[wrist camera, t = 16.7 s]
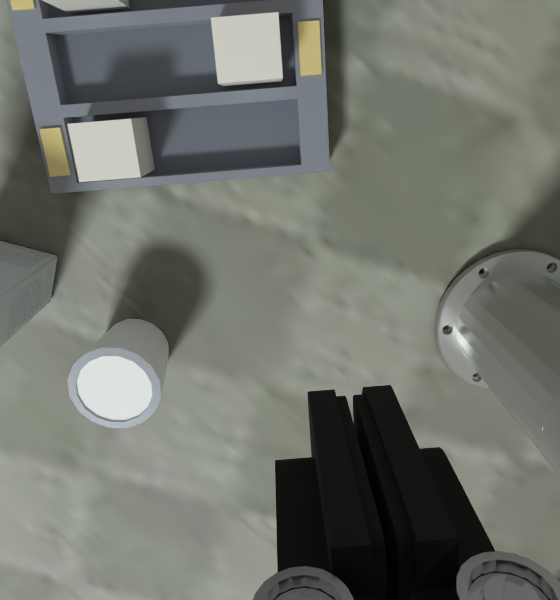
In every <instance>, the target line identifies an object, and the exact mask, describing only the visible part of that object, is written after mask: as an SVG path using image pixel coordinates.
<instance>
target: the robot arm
mask: <svg viewBox="0 0 560 600" xmlns="http://www.w3.org/2000/svg"><path fill="white" fill-rule="evenodd" d="M548 264H549V265H548ZM547 265H548V266H547ZM481 269H482V271H481V272H480V273H479V271H480V270H481ZM446 325H447V326H446ZM444 326H446V327H445V328H443V327H444ZM435 335H436V342H437V345H438V348H439V351H440V353H441V355H442V356H443V358H444V360H445V361H446V363H447V364H448V365H449V367H450V368H451V369H452V370H453V372H454V373H456V374H457V375H458V376H459V377H461V378H462V379H463V380H465V381H467V382H469V383H470V384H473V385H475V386H479V387H482V388H486V389H491V391H492V392H493V393H494V394H495V396H496V397H497V398H498V399H499V401H500V402H501V403H502V405H503V406H504V407H505V408H506V410H507V411H508V412H509V413H510V415H511V416H512V417H513V418H514V420H515V421H516V422H517V423H518V425H519V426H520V427H521V429H522V430H523V431H524V432H525V434H526V435H527V436H528V437H529V439H530V440H531V441H532V442H533V444H534V445H535V446H536V448H537V449H538V450H539V451H540V453H541V454H542V455H543V456H544V458H545V459H546V460H547V461H548V463H549V464H550V465H551V467H552V468H553V469H554V470H555V471H556V473H557V474H558V475H559V476H560V260H558V259H556V258H555V257H553V256H551V255H549V254H545V253H542V252H539V251H536V250H527V249H515V250H506V251H502V252H498V253H494V254H491V255H489V256H487V257H485V258H482V259H480V260H478V261H477V262H475V263H474V264H472V265H471V266H469V267H468V268H466V269H465V270H464V271H463V272H462V273H461V274H460V275H459V276H458V277H457V278H456V279H455V280H454V281H453V282H452V284H451V285H450V286H449V288H448V289H447V290H446V292H445V294H444V296H443V298H442V300H441V302H440V304H439V308H438V311H437V315H436V321H435ZM308 407H309V422H310V438H311V453H312V457H310V458H297V459H285V460H275V476H276V518H277V559H278V572H277V573H276V574H274V575H273V576H272V577H270V578H269V579H267V580H266V581H265V582H264V583H263V584H262V585H261V587H260V588H259V589H258V590H257V592H256V593H255V595H254V598H253V600H560V582H559V581H558V580H557V579H556V578H555V577H554V576H553V575H552V574H551V573H550V572H549V571H548V570H546V569H545V568H543V567H542V566H540V565H539V564H537V563H535V562H534V561H532V560H530V559H527V558H525V557H522V556H519V555H517V554H512V553H506V552H500V551H495V550H494V548H493V546H492V544H491V542H490V540H489V538H488V536H487V534H486V532H485V530H484V528H483V526H482V524H481V522H480V520H479V519H478V517H477V515H476V513H475V511H474V509H473V507H472V505H471V503H470V501H469V499H468V497H467V495H466V493H465V491H464V489H463V487H462V485H461V483H460V482H459V480H458V478H457V476H456V474H455V472H454V470H453V468H452V466H451V464H450V462H449V460H448V458H447V456H446V454H445V453H444V451H443V450H442V449H441V448H439V447H437V448H424V449H419V447H418V445H417V442H416V440H415V438H414V436H413V433H412V431H411V429H410V427H409V425H408V422H407V420H406V418H405V416H404V413H403V411H402V409H401V407H400V404H399V402H398V400H397V398H396V395H395V393H394V391H393V389H392V387H391V385H386V386H373V387H363V390H362V395H354V396H353V417H354V424H353V421H352V417H351V413H350V410H349V406H348V402H347V399H346V396H338V397H336V394H335V390H323V391H310V392H308Z"/></svg>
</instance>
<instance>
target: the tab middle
mask: <svg viewBox="0 0 560 600" xmlns="http://www.w3.org/2000/svg"><path fill="white" fill-rule="evenodd" d="M211 26H212V35H213V44H214V53H215V62H216V71H217V80H218V84H220V85H222V86H233V85H245V84H257V83H269V82H281V81H282V79H283V72H282V58H281V43H280V28H279V14H278V12H273V13H261V14H249V15H237V16H224V17H212V18H211Z"/></svg>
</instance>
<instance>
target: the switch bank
mask: <svg viewBox="0 0 560 600" xmlns="http://www.w3.org/2000/svg"><path fill="white" fill-rule="evenodd" d="M128 1H129V7H130V8H126V9H114V10H102V11H90V12H78V13H68V12H66V11H64V10H61V9H59V8H57V7H55V6H53V5H51V4H49V3H47V2H44V1H42V0H7V4H8V8H9V13H10V17H11V22H12V26H13V30H14V35H15V39H16V43H17V48H18V52H19V57H20V61H21V65H22V70H23V74H24V78H25V83H26V87H27V92H28V96H29V100H30V105H31V109H32V113H33V118H34V122H35V126H36V131H37V135H38V140H39V144H40V148H41V153H42V157H43V161H44V166H45V170H46V175H47V179H48V183H49V188H50V192H51V194H56V193H69V192H81V191H93V190H106V189H118V188H130V187H143V186H155V185H167V184H180V183H192V182H204V181H217V180H229V179H241V178H254V177H266V176H278V175H291V174H303V173H315V172H327V171H330V160H329V136H328V112H327V89H326V65H325V41H324V17H323V0H128ZM273 12H278V14H279V28H280V43H281V58H282V72H283V79H282V81H281V82H269V83H257V84H245V85H233V86H222V85H220V84H218V80H217V71H216V62H215V53H214V44H213V35H212V26H211V18H212V17H224V16H237V15H249V14H261V13H273ZM143 117H147V123H148V129H149V136H150V142H151V149H152V155H153V161H154V168H155V170H153V171H151V172H149V173H147V174H146V175H144V176H142V177H138V178H126V179H114V180H101V181H89V182H79V178H78V173H77V168H76V164H75V159H74V154H73V149H72V144H71V140H70V135H69V130H68V125H67V124H71V123H83V122H94V121H106V120H119V119H131V118H143Z"/></svg>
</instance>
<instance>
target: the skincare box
mask: <svg viewBox="0 0 560 600" xmlns="http://www.w3.org/2000/svg"><path fill="white" fill-rule="evenodd" d="M57 259H58V257H57V256H56V255H53V254H49V253H45V252H41V251H37V250H33V249H30V248H26V247H22V246H18V245H15V244H11V243H7V242H3V241H0V347H1V346H2V345H3V344H4V343H5V342H6V341H7V340H8V339H9V338H10V337H12V336H13V335H14V334H15V333H16V332H17V331H18V330H19V329H20V328H21V327H22V326H24V325H25V324H26V323H27V322H28V321H29V320H30V319H31V318H33V317H34V316H35V315H36V314H37V313H38V312H39V311H40V310H41V309H42V308H43V307H45V306H46V305H47V304H48V303H49V302H50V301H51V295H52V289H53V283H54V277H55V271H56V264H57Z"/></svg>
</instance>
